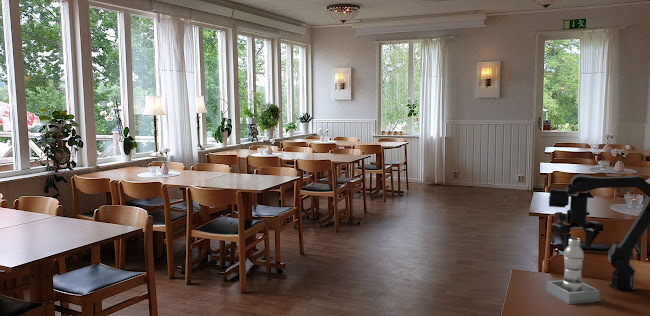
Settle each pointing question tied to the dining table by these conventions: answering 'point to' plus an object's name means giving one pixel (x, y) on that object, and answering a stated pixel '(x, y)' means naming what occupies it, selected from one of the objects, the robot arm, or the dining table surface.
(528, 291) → the dining table surface
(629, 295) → the dining table surface
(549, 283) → the bottle dock
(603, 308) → the dining table surface
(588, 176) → the robot arm
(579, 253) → the plastic bottle
